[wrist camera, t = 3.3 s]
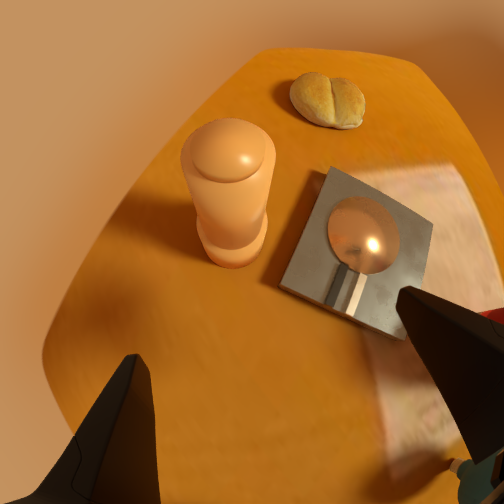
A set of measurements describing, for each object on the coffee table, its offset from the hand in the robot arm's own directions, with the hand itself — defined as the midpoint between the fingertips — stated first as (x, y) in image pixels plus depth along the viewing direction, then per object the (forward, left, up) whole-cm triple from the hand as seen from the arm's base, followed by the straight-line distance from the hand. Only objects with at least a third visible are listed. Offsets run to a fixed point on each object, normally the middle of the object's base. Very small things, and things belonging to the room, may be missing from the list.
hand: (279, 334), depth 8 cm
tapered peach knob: (+6, +5, -13) cm, 15 cm away
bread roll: (+26, +3, -14) cm, 30 cm away
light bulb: (-7, -29, -13) cm, 33 cm away
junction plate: (+10, -6, -13) cm, 18 cm away
